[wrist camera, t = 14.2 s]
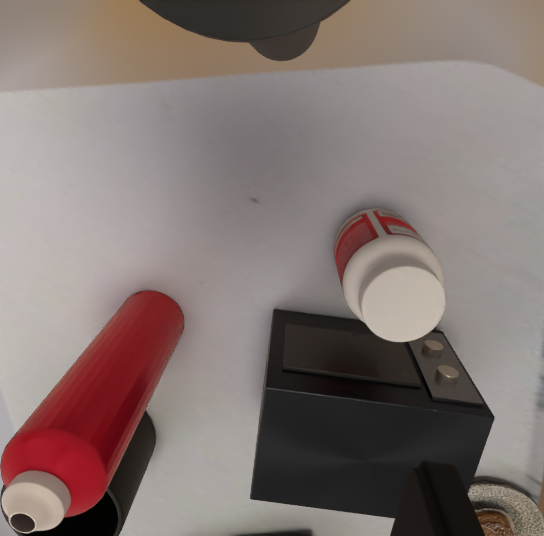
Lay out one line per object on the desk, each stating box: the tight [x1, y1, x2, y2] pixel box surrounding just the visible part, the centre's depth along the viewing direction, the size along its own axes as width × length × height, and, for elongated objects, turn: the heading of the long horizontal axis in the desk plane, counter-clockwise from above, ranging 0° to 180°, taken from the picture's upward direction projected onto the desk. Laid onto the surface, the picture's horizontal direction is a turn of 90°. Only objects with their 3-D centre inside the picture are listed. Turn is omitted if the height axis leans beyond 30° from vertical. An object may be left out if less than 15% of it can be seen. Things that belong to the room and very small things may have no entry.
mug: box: [0, 412, 155, 536], centre depth 39 cm, size 9×12×9 cm
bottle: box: [0, 291, 184, 533], centre depth 30 cm, size 6×5×20 cm
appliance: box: [250, 309, 494, 518], centre depth 35 cm, size 10×14×11 cm
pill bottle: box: [334, 208, 446, 342], centre depth 31 cm, size 6×6×11 cm
